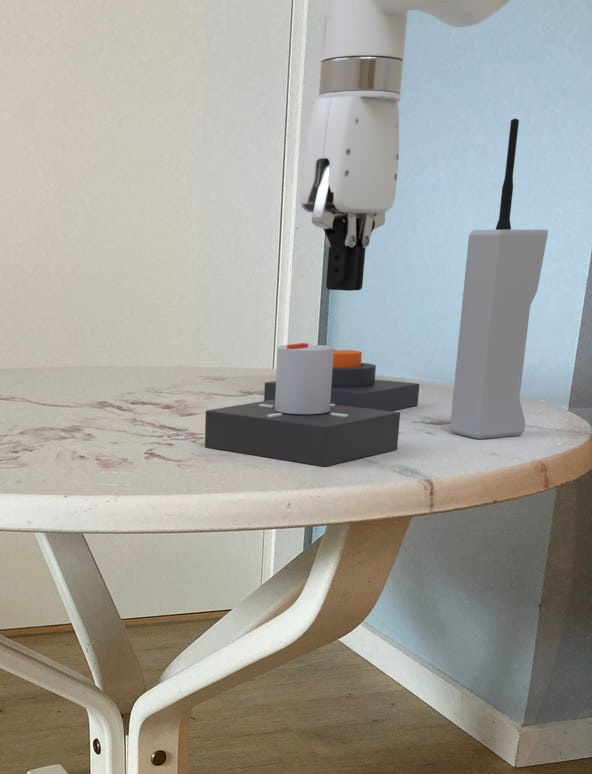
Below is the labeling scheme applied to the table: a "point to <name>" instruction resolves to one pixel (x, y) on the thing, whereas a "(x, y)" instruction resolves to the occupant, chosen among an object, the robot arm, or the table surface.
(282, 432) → the timer panel
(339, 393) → the block
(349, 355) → the button
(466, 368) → the vintage mobile phone
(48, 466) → the table surface
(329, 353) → the timer knob
